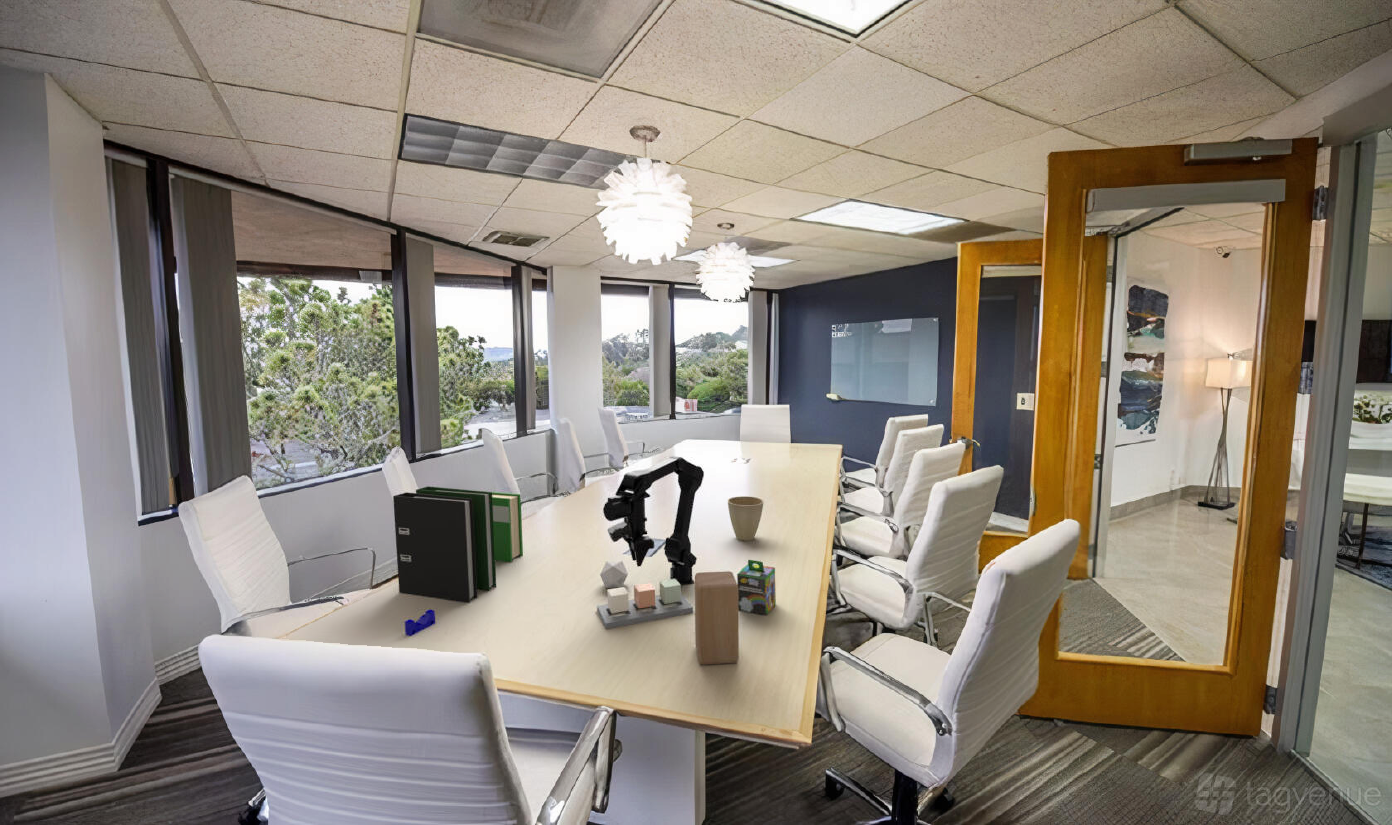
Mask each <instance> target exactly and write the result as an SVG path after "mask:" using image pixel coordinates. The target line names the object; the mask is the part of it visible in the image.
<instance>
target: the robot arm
mask: <svg viewBox="0 0 1392 825" xmlns="http://www.w3.org/2000/svg"><path fill="white" fill-rule="evenodd" d="M673 473H675V474H676V475H677V483H678V486H679V488H680V493H679V499H678V503H677V508H676V510H677V511H676V514H675V515H676V516H675V522H674V527H673V532H672V534H671V535H670V537H666V538H665V541H664V542H665V544H664V547H663V550H664V555H665V556H666V559H667V562H668V563H671V567H670V569H669V572H670V573H669V574H670V576H669V578H670V579H676V580H677V581H678V582H679V584H680V585H681V586H683V585H688V584H695V579H693V567H694V566H695V565H696V563H697V557H696V556H695V555H694V554H693V553H692V551H691V549H692V543H691V540H690V537H689V531H690V526H691V519H692V514H693V508H694V502H695V496H696V493H697V491H698V490H699V489H700V488H701V486H702V484H703V481H704V476H705V471H704V470H703V468H702V467H701V466H699V465H696V464H694V463H692V462H689V461H688V460H686V459H685V458H683V457H681V456H675V455H671V456H669V457H668V458H667V459H665V460H663V461H660V462H659V463H656V464H654V465H652V466H650V467H648V468H645V469H639V470H631V471H628V472H626V473H625V474H624V475H623V477H622V480H621V482H620V483H619V486H618V487H617V490H616V492H615V496H610V497H608V498H607V501H606V502H605V503H604V506H603V510H602V512H603V515H604V517H605V519H606V520H607V521H609V522H614V521H617V520H620V519H623V521H621V522H619V523H617V524H615V525H612V526H610V527H609V528H607V532H608V535H609V537H610V539H611V541H612V542H613V543H615V542H618V541H620V540H621V539H623V540H624V541H625V542H626V543H627V544H628V548H629V552H630V556H631V559H632V561H635V562H636V566H637V567H642V565H643V562H644V560H645V559H646V556H647V554H648V552H649V550H651V549H654V548H655V540H653V538H651V537H650V536H649V535H648V531H647V529H646V522H648V517H647V516H646V499H648V498H650V497H651V494H650V493H648V492H647V491H648V490H649V489H650V488H651V487H652V485H653V483H655V482H657V481H658V480H661V479H662V478H664V477H666V476H668V475H671V474H673ZM670 579H669V580H670Z"/></svg>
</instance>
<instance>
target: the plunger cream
mask: <svg viewBox="0 0 1392 825" xmlns="http://www.w3.org/2000/svg"><path fill="white" fill-rule="evenodd" d="M606 593H607V604H608V607H609V609H610V611H611V613H610V614H616V613H620V612H627V611H628V610H629V600H630V599H629V592H628V590H627V589H626V588H625V587H624V586H622V587H621V588H608V589H607V592H606Z"/></svg>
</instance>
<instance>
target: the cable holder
mask: <svg viewBox="0 0 1392 825" xmlns="http://www.w3.org/2000/svg"><path fill="white" fill-rule="evenodd" d="M434 625H436V612H435V610H433V609H431V608H430V609H428V610H426V611H424V614H423V615H421V616H419V618H418V619H417V621H415V620H414V619H411V618H409V619H407V620H405V621H404V629H405V630H404V632H405V636H409V637H411V636H414V635H416V634H418V633H420V632H421V631H423V630H426V629H428V628H430V627H432V626H434Z"/></svg>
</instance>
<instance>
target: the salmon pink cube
mask: <svg viewBox="0 0 1392 825" xmlns="http://www.w3.org/2000/svg"><path fill="white" fill-rule="evenodd" d="M633 596H634V597H633V599H634V602H635V603H636V605H637V607H638V608H637V609H643V608H648V607H650V608H651V607H652V606H655V596H656V588H655V587H654V586H653V585H652V584H651V582H647V583H641V584H635V585H633Z"/></svg>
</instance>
